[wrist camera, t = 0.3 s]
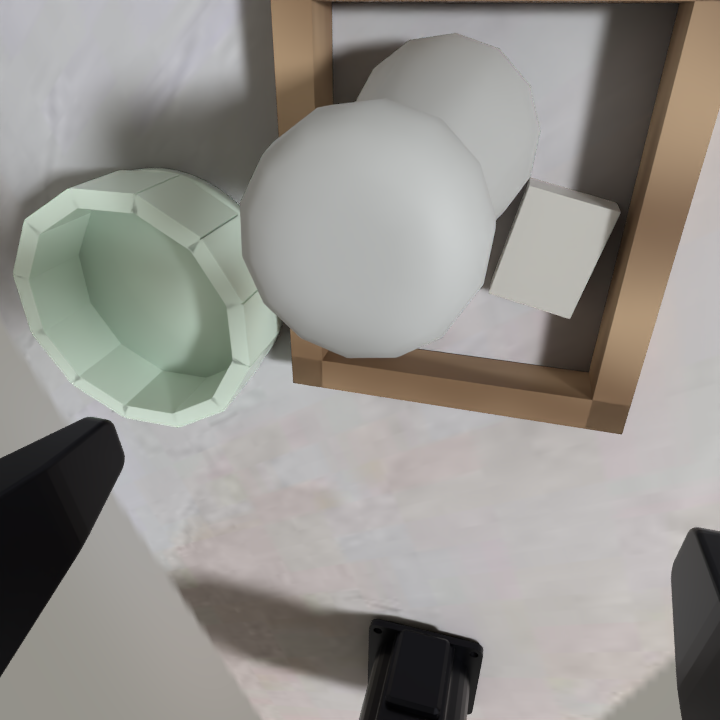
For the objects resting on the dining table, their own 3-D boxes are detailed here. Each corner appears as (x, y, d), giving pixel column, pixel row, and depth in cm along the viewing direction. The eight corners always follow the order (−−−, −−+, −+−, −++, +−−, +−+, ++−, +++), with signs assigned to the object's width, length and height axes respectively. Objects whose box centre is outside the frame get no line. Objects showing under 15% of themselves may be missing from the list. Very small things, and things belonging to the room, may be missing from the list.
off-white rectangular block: (568, 301, 22) (569, 319, 21) (491, 277, 22) (488, 293, 21) (615, 200, 20) (620, 212, 19) (530, 175, 20) (529, 185, 19)
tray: (616, 404, 23) (622, 434, 22) (309, 359, 26) (293, 382, 24) (745, -54, 16) (770, -63, 14) (292, -47, 18) (267, -53, 17)
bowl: (290, 393, 27) (257, 442, 24) (105, 363, 29) (53, 404, 26) (276, 176, 22) (232, 202, 19) (55, 160, 24) (-17, 180, 21)
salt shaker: (378, 218, 22) (222, 410, 11) (357, 48, 19) (123, 84, 8) (540, 206, 20) (541, 420, 9) (541, 18, 18) (542, 16, 7)
